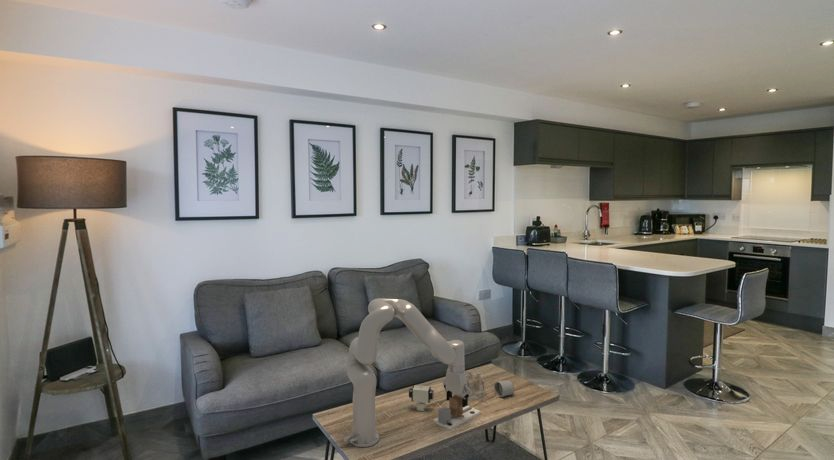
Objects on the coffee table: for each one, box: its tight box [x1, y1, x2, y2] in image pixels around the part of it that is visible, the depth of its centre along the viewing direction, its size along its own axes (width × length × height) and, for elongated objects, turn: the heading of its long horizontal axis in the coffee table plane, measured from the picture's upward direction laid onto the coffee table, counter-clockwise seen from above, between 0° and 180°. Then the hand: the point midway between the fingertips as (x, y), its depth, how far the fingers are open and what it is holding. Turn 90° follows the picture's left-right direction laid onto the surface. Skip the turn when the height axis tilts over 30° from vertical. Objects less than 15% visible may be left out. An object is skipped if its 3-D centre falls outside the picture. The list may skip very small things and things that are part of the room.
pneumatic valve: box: [408, 384, 435, 412], centre depth 222 cm, size 6×12×12 cm, turn 78°
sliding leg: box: [448, 395, 464, 418], centre depth 211 cm, size 5×7×8 cm
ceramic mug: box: [493, 379, 515, 398], centre depth 239 cm, size 11×8×8 cm
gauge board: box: [432, 405, 482, 431], centre depth 213 cm, size 22×10×7 cm, turn 134°
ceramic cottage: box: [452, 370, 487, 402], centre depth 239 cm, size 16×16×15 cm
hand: (457, 403), depth 212 cm, fingers open, 9 cm apart
